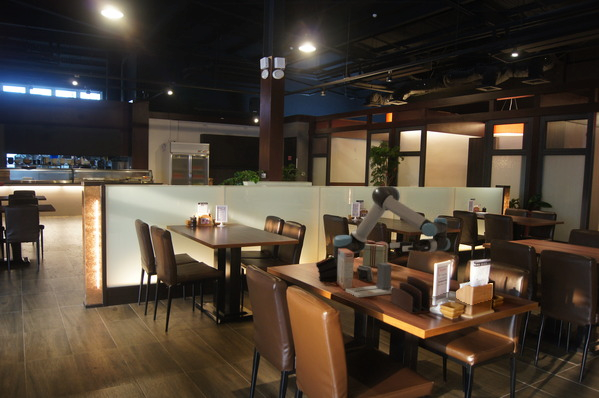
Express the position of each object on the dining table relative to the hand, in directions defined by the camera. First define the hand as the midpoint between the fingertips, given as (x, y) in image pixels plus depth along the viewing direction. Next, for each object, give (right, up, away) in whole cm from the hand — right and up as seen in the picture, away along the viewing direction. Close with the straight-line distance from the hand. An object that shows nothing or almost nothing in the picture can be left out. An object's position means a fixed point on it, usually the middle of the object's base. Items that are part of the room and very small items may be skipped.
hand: (396, 247), depth 242 cm
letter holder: (0, -26, -30) cm, 40 cm away
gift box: (0, -20, +68) cm, 71 cm away
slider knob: (-8, -22, -2) cm, 24 cm away
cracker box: (-28, -23, +5) cm, 37 cm away
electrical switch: (-15, -23, +20) cm, 33 cm away
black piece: (-38, -22, +16) cm, 47 cm away
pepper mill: (+45, -26, -4) cm, 52 cm away
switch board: (-14, -24, -5) cm, 28 cm away
